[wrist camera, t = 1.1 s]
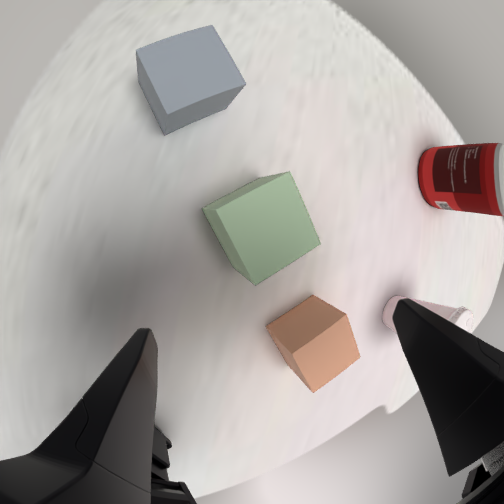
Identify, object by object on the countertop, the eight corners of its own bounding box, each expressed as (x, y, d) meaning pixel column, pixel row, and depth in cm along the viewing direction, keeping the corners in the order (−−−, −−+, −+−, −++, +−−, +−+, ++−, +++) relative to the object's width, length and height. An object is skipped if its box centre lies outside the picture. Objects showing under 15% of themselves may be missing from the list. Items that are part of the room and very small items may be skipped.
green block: (232, 267, 21) (255, 285, 16) (201, 208, 19) (215, 209, 15) (286, 234, 22) (320, 243, 17) (260, 177, 20) (290, 171, 16)
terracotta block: (286, 363, 24) (313, 393, 20) (265, 325, 23) (291, 354, 18) (328, 334, 25) (360, 357, 21) (312, 294, 24) (346, 314, 19)
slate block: (164, 136, 18) (167, 114, 13) (138, 82, 16) (135, 50, 11) (225, 109, 19) (246, 83, 14) (198, 58, 17) (212, 24, 12)
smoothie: (375, 292, 26) (488, 341, 13) (411, 277, 28) (512, 312, 15) (371, 344, 28) (466, 403, 15) (407, 325, 30) (495, 368, 17)
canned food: (452, 196, 29) (519, 202, 19) (424, 218, 28) (503, 229, 17) (439, 141, 27) (509, 137, 17) (409, 155, 25) (494, 150, 15)
